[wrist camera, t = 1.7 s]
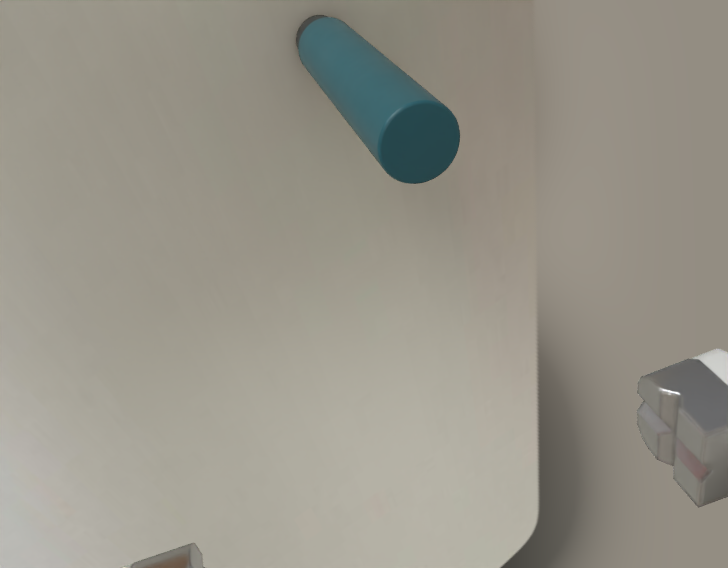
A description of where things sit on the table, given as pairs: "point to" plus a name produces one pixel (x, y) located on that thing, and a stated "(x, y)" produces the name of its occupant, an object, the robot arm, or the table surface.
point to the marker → (379, 101)
